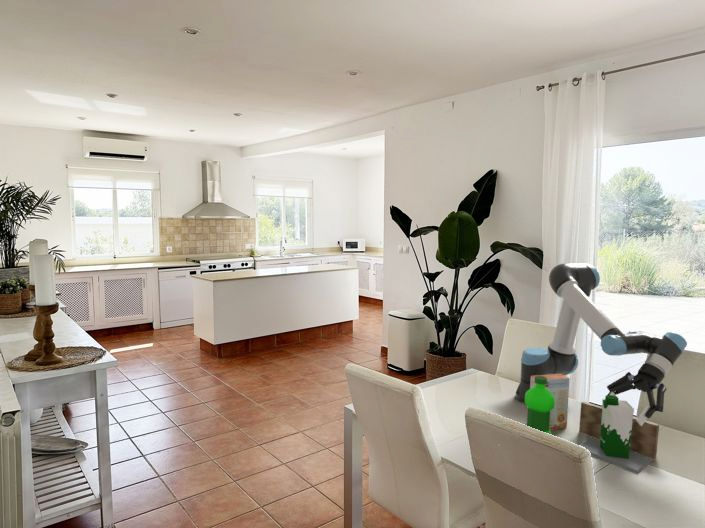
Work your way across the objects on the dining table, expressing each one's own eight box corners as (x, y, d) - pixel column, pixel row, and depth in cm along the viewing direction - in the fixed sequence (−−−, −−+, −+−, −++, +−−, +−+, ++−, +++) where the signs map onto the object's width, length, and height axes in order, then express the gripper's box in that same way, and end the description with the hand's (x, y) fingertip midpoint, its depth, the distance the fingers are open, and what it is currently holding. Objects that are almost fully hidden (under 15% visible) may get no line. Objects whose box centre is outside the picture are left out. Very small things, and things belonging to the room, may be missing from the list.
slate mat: (576, 449, 169) (576, 446, 169) (592, 439, 178) (592, 437, 178) (637, 473, 154) (637, 470, 154) (651, 461, 162) (651, 458, 162)
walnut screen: (579, 432, 184) (581, 402, 183) (581, 430, 185) (583, 401, 184) (654, 458, 164) (657, 425, 163) (656, 457, 165) (659, 424, 164)
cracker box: (557, 422, 192) (560, 372, 190) (567, 429, 186) (570, 377, 184) (526, 425, 189) (530, 374, 187) (536, 431, 183) (539, 379, 181)
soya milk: (596, 445, 171) (600, 392, 169) (623, 448, 169) (628, 394, 167) (604, 457, 162) (608, 401, 160) (633, 460, 160) (637, 403, 159)
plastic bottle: (546, 453, 166) (551, 384, 163) (517, 443, 172) (521, 377, 170) (556, 443, 173) (560, 378, 171) (527, 434, 180) (531, 371, 178)
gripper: (694, 387, 158) (660, 437, 154) (627, 365, 181) (595, 408, 177) (685, 374, 156) (650, 423, 152) (618, 353, 179) (586, 396, 175)
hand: (620, 415), depth 164 cm, fingers open, 13 cm apart
